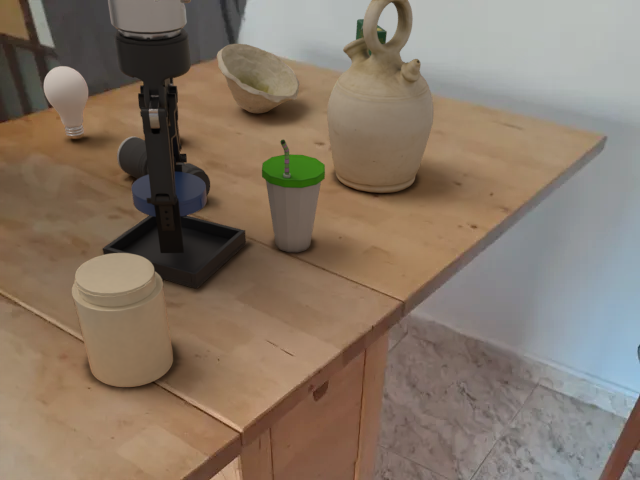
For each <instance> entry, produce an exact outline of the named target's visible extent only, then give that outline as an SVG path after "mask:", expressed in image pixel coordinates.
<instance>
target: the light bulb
mask: <svg viewBox="0 0 640 480" xmlns="http://www.w3.org/2000/svg"><path fill="white" fill-rule="evenodd" d="M43 92H44V95H45V98H46V99H47V101H48V103H49V104H50V106H52V107H53V109H54V110H55V111H56V113H57V114H58V116H59V118H60V120H61V123H62V125H63V126H64V132H65V135H66V137H67V138H69V139H72V140H76V141H77V140H79V139H81V138H83V137H84V135H85V128H84V125H83V123H84V112H85V108H86V105H87V102H88V100H89V87H88V84H87V82H86V80H85V78H84V77H83V75H82V74H81V73H80V72H79V71H78V70H76V69H74V68H72V67H70V66H65V65H59V66H55V67H53V68H51V69H50V70H49V71H48V72H47V73H46V76H45V77H44V80H43Z"/></svg>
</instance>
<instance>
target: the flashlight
mask: <svg viewBox="0 0 640 480" xmlns="http://www.w3.org/2000/svg"><path fill="white" fill-rule="evenodd" d="M116 160H117V164H118V167H119V168H120V170H122V172H124V173H126V174H127V175H129V176H131V177H133V178H135V179H136V180H137V179H139V178H141V177H143V176H145V175H148V174H149V172H148V163H147V154H146V144H145V139H142V138H140V137H138V136H135V135H134V136H128V137H127V138H125V139H124V140H123V141H122V142H121V143H120V144H119V146H118V149H117V153H116ZM177 165H182V171H183V172H184V173H189V174H192V175H195V176H197V177H199V178H201V179H202V180H203V181H204V182H205V185H206V197H208V195H209V193H210V190H211V179H210V177H209V175H208V174H207V173H206V172H205V170H204V169H202V168H200V167H199V166H197V165H195V164H193V163H190V162H187V163H177Z"/></svg>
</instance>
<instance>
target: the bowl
mask: <svg viewBox="0 0 640 480" xmlns="http://www.w3.org/2000/svg"><path fill="white" fill-rule="evenodd" d="M216 61H217V65H218V69H219V70H220V71H221V72H220V73H221V74H222V75H223V76H224V78H225V81H226V84H227V87H228V89H229V90H230V93H231V95H232V98H233V100H234V101H235V102H236V104H237V105H238V106H239V107H240V108H241V109H243V110H244V111H247V112H249V113H253V114H265V113H267V112H270V111H272V109H275V108H276V107H278V106H280V105H281V104H283V103H286V102H290V101H295V100H297V98H298V94H299V91H300V90H299V88H300V87H299V86H300V81H299V79H298V77H297V75H296V73H295V71H294V70H293V68H291V67H290V66H289V65H288V64H287V63H286V62H285V61H284V60H282V58H280V57H279V56H277V55H276V54H274V53H272V52H269V51H266V50H265V49H262V48H259V47H256V46H253V45H250V44H246V43H231V44H227V45H226V46H224V47H222V48H221V49H219V50H218V51H217V54H216Z"/></svg>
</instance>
